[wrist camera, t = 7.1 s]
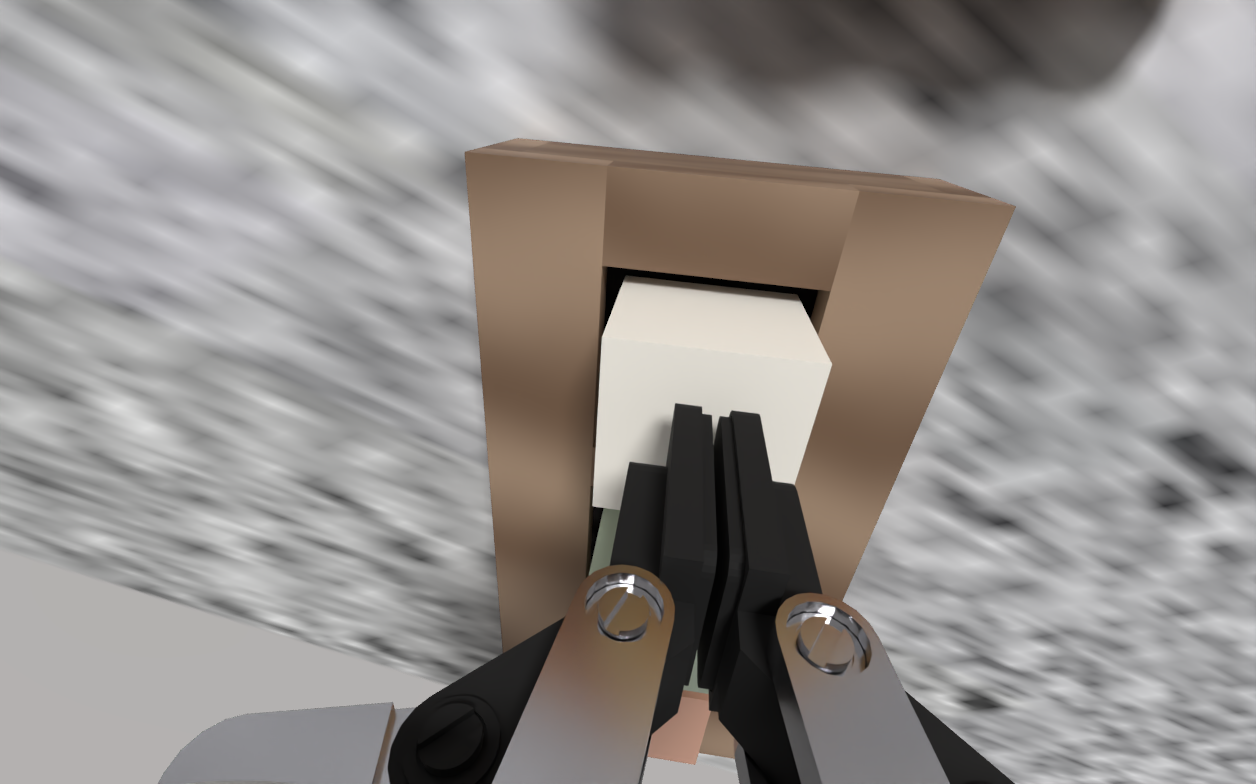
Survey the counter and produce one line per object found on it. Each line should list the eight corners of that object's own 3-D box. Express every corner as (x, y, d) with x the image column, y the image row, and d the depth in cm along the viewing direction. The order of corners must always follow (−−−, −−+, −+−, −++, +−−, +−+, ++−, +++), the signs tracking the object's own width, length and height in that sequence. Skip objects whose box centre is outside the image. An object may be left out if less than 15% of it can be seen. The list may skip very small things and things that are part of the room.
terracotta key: (604, 588, 22) (587, 681, 18) (710, 604, 22) (713, 701, 18) (599, 652, 24) (582, 745, 21) (695, 667, 24) (695, 764, 20)
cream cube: (625, 275, 14) (601, 337, 10) (797, 294, 13) (832, 364, 10) (614, 417, 16) (592, 506, 13) (761, 435, 16) (779, 532, 12)
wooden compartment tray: (517, 137, 15) (464, 151, 12) (939, 179, 14) (1016, 206, 11) (531, 641, 27) (508, 721, 24) (760, 677, 27) (770, 764, 23)
